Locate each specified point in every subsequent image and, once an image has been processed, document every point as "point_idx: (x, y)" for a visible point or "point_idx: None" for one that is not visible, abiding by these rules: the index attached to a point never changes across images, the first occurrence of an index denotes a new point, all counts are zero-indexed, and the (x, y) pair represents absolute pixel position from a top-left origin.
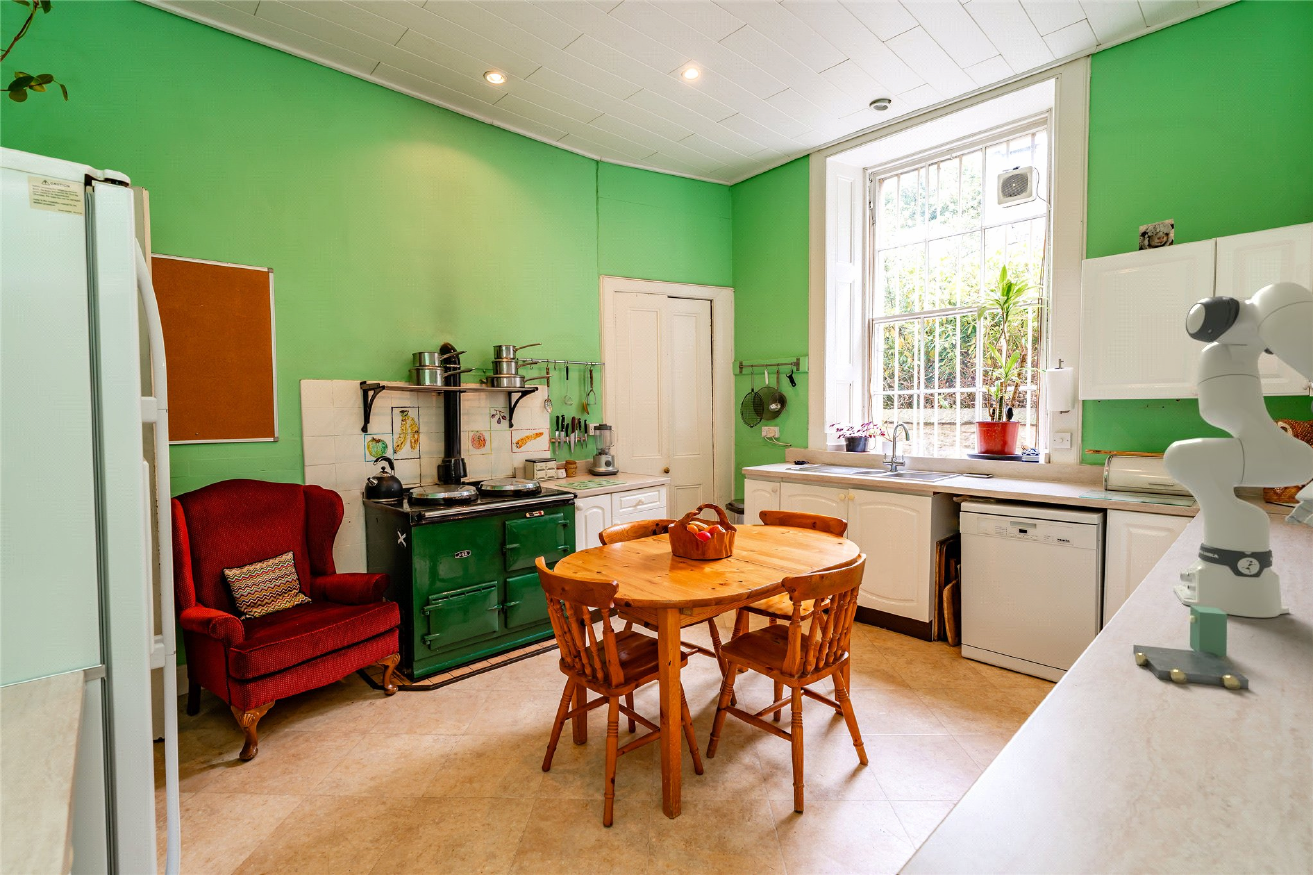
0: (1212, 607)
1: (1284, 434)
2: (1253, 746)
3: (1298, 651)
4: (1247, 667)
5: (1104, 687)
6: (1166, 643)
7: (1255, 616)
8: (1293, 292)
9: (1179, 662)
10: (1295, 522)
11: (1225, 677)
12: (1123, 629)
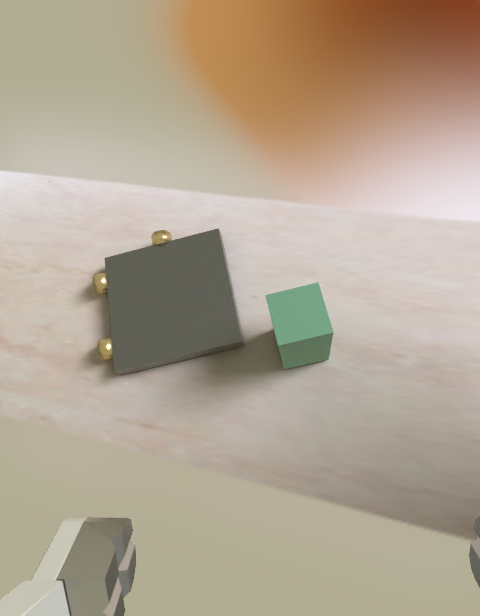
0: (329, 324)
1: None
2: None
3: (429, 521)
4: (244, 395)
5: (55, 209)
6: None
7: None
8: None
9: (155, 286)
10: (478, 561)
11: (103, 339)
12: (369, 222)
